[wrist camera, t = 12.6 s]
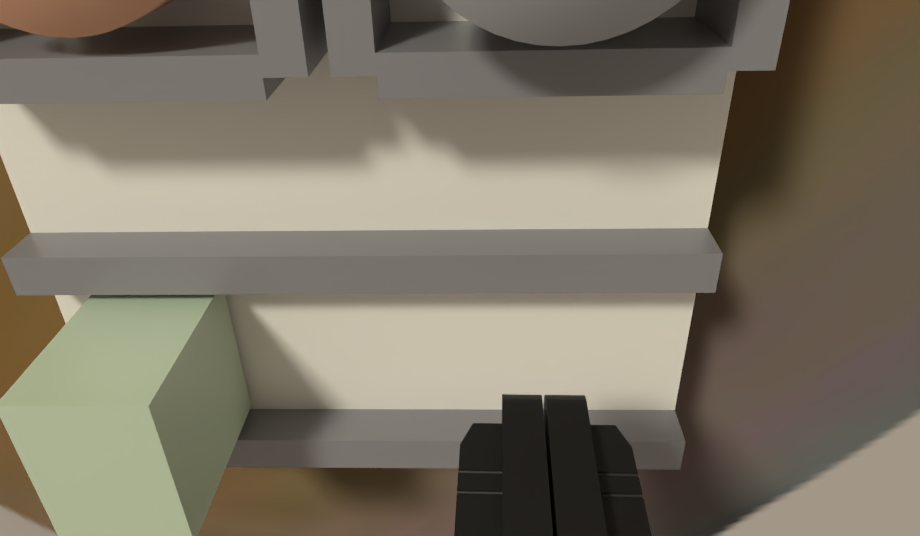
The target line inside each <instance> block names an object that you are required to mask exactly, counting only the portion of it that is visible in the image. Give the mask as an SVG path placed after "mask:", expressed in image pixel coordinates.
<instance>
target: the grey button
mask: <svg viewBox="0 0 920 536" xmlns="http://www.w3.org/2000/svg"><path fill="white" fill-rule="evenodd" d="M442 1H443V2H444V3H445V4H446V5H448V6H449V7H450V8H451V9H452V10H453V11H455V12H456V13H458V14H459V15H461V16H462V17H464V18H465V19H467V20H468V21H470V22H471V23H473V24H475V25H477V26H479V27H481V28H483V29H485V30H487V31H489V32H491V33H493V34H496V35H499V36H502V37H505V38H508V39H511V40H514V41H518V42H523V43H528V44H534V45H542V46H572V45H584V44H589V43H593V42H598V41H602V40H607V39H610V38H613V37H616V36H618V35H621V34H624V33H627V32H630V31H632V30H634V29H636V28H638V27H640V26H642V25H644V24H646V23H648V22H650V21H652V20H653V19H655V18H656V17H658V16H659V15H661V14H663V13H664V12H666V11H667V10H669V9H670V8H672V7H673V6H674V5H676V4H677V3H678V2H679V1H680V0H442Z"/></svg>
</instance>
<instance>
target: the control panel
mask: <svg viewBox="0 0 920 536" xmlns="http://www.w3.org/2000/svg"><path fill="white" fill-rule="evenodd" d="M789 3H790V0H680V1H679V2H678V3H677V4H676V5H674V6H673V7H672V8H670V9H669V10H667V11H666V12H664V13H663V14H661V15H659V16H658V17H656V18H655V19H653V20H652V21H650V22H648V23H646V24H644V25H642V26H640V27H638V28H636V29H634V30H632V31H630V32H627V33H624V34H621V35H618V36H616V37H613V38H610V39H607V40H602V41H598V42H593V43H589V44H584V45H572V46H542V45H534V44H528V43H523V42H518V41H514V40H511V39H508V38H505V37H502V36H499V35H496V34H493V33H491V32H489V31H487V30H485V29H483V28H481V27H479V26H477V25H475V24H473V23H471V22H470V21H468V20H467V19H465V18H464V17H462V16H461V15H459V14H458V13H456V12H455V11H453V10H452V9H451V8H450V7H449V6H448V5H446V4H445V3H444V2H443V1H442V0H174V1H172V2H170V3H168V4H166V5H164V6H163V7H161V8H159V9H157V10H155V11H153V12H151V13H149V14H147V15H145V16H143V17H141V18H139V19H137V20H135V21H133V22H131V23H129V24H127V25H124V26H122V27H120V28H117V29H115V30H112V31H110V32H106V33H102V34H98V35H94V36H86V37H75V38H66V37H50V36H44V35H39V34H33V33H29V32H25V31H22V30H19V29H15V28H12V27H9V26H7V25H4V24H2V23H0V155H1V157H2V160H3V163H4V165H5V168H6V170H7V173H8V175H9V178H10V181H11V183H12V186H13V188H14V191H15V194H16V196H17V199H18V201H19V204H20V206H21V209H22V212H23V214H24V217H25V219H26V222H27V225H28V227H29V230H30V232H31V233H30V234H29V235H27V236H26V237H25V238H24V239H23V240H22V241H20V242H19V243H18V244H17V245H16V246H15V247H13V248H12V249H11V250H10V251H9V252H8V253H6V254H5V255H4V256H3V257H2V258H1V259H2V262H3V264H4V266H5V269H6V271H7V273H8V276H9V278H10V281H11V283H12V285H13V288H14V290H15V292H16V295H55V297H56V300H57V302H58V305H59V307H60V310H61V312H62V315H63V318H64V320H65V323H67V322H68V321H69V320H70V319H71V318H72V316H73V315H74V314H75V313H76V312H77V311H78V310H79V308H80V307H81V306H82V305H83V304H84V303H85V301H86V300H87V299H88V298H89V297H90V296H91V295H225V296H226V300H227V304H228V309H229V313H230V317H231V321H232V326H233V330H234V334H235V338H236V343H237V347H238V351H239V355H240V360H241V364H242V368H243V372H244V377H245V381H246V385H247V389H248V394H249V398H250V402H251V408H250V410H249V413H248V415H247V418H246V420H245V422H244V425H243V427H242V430H241V432H240V435H239V437H238V439H237V442H236V444H235V447H234V449H233V451H232V454H231V456H230V459H229V461H228V464H227V466H226V467H297V468H459V453H460V444H461V442H462V440H463V439H464V437H465V435H466V434H467V432H468V430H469V429H470V427H471V425H472V424H473V423H502V394H519V395H542V401H543V404H544V395H585V397H586V401H587V407H588V413H589V420H590V425H616V427H617V428H618V429H619V431H620V432H621V433H622V435H623V436H624V437H625V439H626V440H627V441H628V442H629V444H630V445H631V446H632V449H633V454H634V458H635V463H636V467H637V469H659V470H680V468H681V463H682V458H683V453H684V448H685V443H686V442H685V439H684V436H683V433H682V430H681V427H680V424H679V421H678V418H677V415H676V412H675V406H676V400H677V395H678V389H679V384H680V378H681V373H682V367H683V362H684V356H685V351H686V345H687V340H688V334H689V329H690V323H691V318H692V312H693V307H694V301H695V296H696V293H715V292H716V287H717V282H718V277H719V272H720V267H721V262H722V257H723V253H722V252H721V250H720V248H719V246H718V245H717V243H716V241H715V240H714V238H713V236H712V234H711V233H710V231H709V229H708V224H709V219H710V213H711V208H712V202H713V197H714V191H715V186H716V180H717V175H718V169H719V163H720V158H721V152H722V147H723V141H724V136H725V130H726V125H727V119H728V114H729V108H730V103H731V97H732V92H733V86H734V81H735V75H736V71H769V70H776V65H777V60H778V55H779V51H780V46H781V41H782V36H783V32H784V27H785V22H786V17H787V12H788V8H789Z"/></svg>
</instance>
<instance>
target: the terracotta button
mask: <svg viewBox="0 0 920 536" xmlns="http://www.w3.org/2000/svg"><path fill="white" fill-rule="evenodd" d="M172 1H174V0H0V23H2V24H4V25H7V26H9V27H12V28H15V29H19V30H22V31H25V32H29V33H33V34H39V35H44V36H50V37H66V38H75V37H86V36H94V35H98V34H102V33H106V32H110V31H112V30H115V29H117V28H120V27H122V26H124V25H127V24H129V23H131V22H133V21H135V20H137V19H139V18H141V17H143V16H145V15H147V14H149V13H151V12H153V11H155V10H157V9H159V8H161V7H163V6H164V5H166V4H168V3H170V2H172Z"/></svg>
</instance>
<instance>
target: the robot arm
mask: <svg viewBox="0 0 920 536" xmlns="http://www.w3.org/2000/svg"><path fill="white" fill-rule="evenodd" d="M454 536H651V532H650V527H649V523H648V518H647V513H646V509H645V504H644V500H643V499H642V490H641V486H640V481H639V478H638V472H637V467H636V463H635V458H634V454H633V449H632V446H631V445H630V444H629V442H628V441H627V440H626V439H625V437H624V436H623V435H622V433H621V432H620V431H619V429H618V428H617V427H616V425H590V420H589V413H588V407H587V401H586V397H585V395H544V404H543V401H542V395H519V394H502V423H473V424H472V425H471V427H470V429H469V430H468V432H467V434H466V435H465V437H464V439H463V440H462V442H461V444H460V453H459V472H458V486H457V502H456V518H455V535H454Z"/></svg>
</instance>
